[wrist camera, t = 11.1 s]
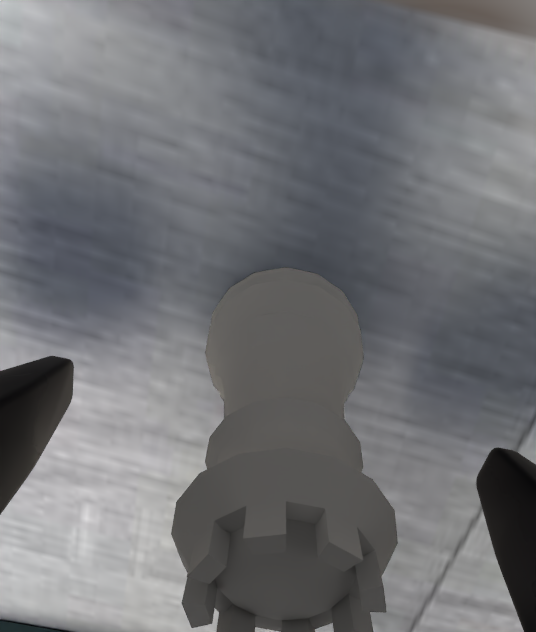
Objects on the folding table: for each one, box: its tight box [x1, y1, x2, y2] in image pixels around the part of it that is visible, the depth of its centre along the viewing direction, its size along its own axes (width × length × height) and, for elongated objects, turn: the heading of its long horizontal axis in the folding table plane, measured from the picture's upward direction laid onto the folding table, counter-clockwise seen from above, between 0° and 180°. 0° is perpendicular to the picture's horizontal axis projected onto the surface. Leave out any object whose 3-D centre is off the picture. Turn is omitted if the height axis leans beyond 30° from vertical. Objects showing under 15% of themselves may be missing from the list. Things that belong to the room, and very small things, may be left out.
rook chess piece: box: [171, 267, 398, 632], centre depth 9 cm, size 4×4×8 cm
